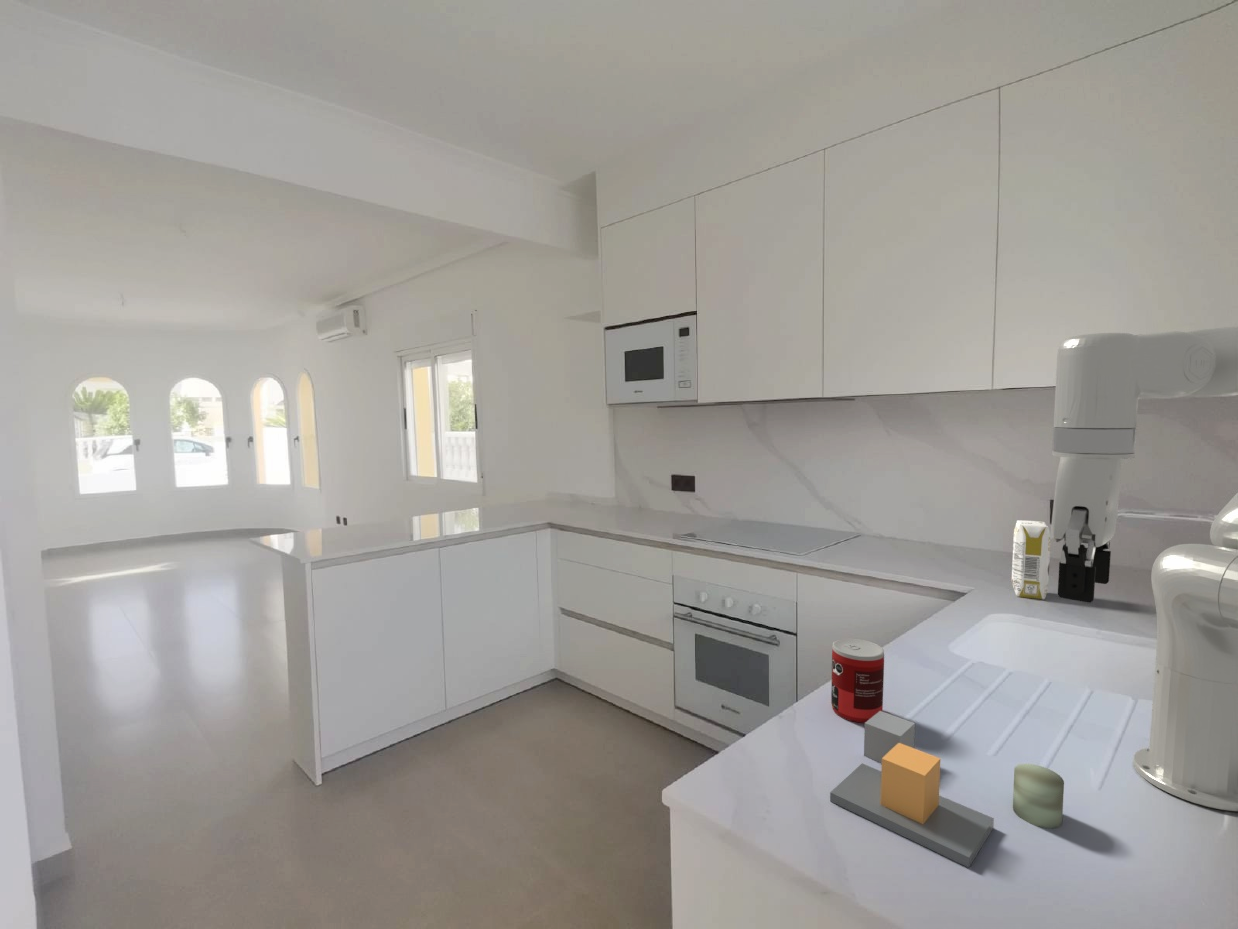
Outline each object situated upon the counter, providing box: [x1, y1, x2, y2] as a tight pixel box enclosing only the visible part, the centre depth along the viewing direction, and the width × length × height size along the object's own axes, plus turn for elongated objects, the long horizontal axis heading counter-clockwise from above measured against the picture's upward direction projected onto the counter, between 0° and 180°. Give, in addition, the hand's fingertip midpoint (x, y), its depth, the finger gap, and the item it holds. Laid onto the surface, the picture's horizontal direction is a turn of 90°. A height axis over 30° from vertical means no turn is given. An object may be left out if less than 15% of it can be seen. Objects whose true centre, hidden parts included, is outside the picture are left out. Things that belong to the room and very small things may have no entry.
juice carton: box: [1011, 519, 1052, 600], centre depth 160 cm, size 8×9×19 cm
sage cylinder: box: [1012, 763, 1065, 829], centre depth 75 cm, size 5×5×5 cm
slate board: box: [829, 763, 995, 869], centre depth 76 cm, size 9×16×1 cm, turn 44°
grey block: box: [863, 710, 916, 764], centre depth 88 cm, size 5×5×5 cm
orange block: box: [880, 743, 941, 824], centre depth 75 cm, size 5×5×6 cm
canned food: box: [830, 638, 885, 724], centre depth 100 cm, size 8×8×11 cm
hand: (1083, 590), depth 72 cm, fingers open, 9 cm apart
